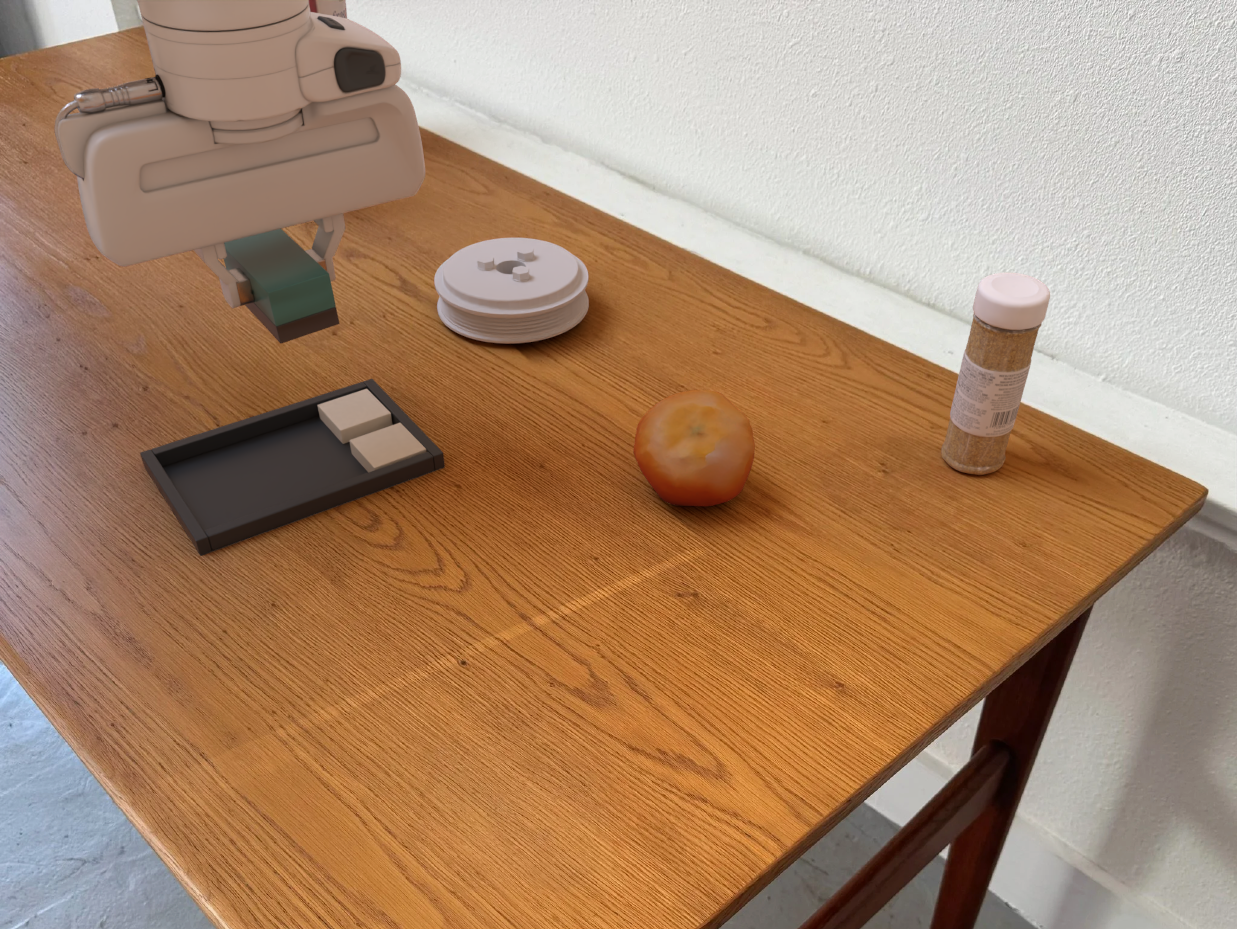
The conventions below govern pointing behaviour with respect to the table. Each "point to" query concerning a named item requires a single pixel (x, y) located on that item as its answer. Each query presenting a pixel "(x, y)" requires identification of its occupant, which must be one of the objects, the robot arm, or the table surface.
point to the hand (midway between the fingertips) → (281, 291)
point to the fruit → (695, 448)
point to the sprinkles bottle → (994, 370)
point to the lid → (512, 290)
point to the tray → (273, 471)
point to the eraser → (284, 284)
